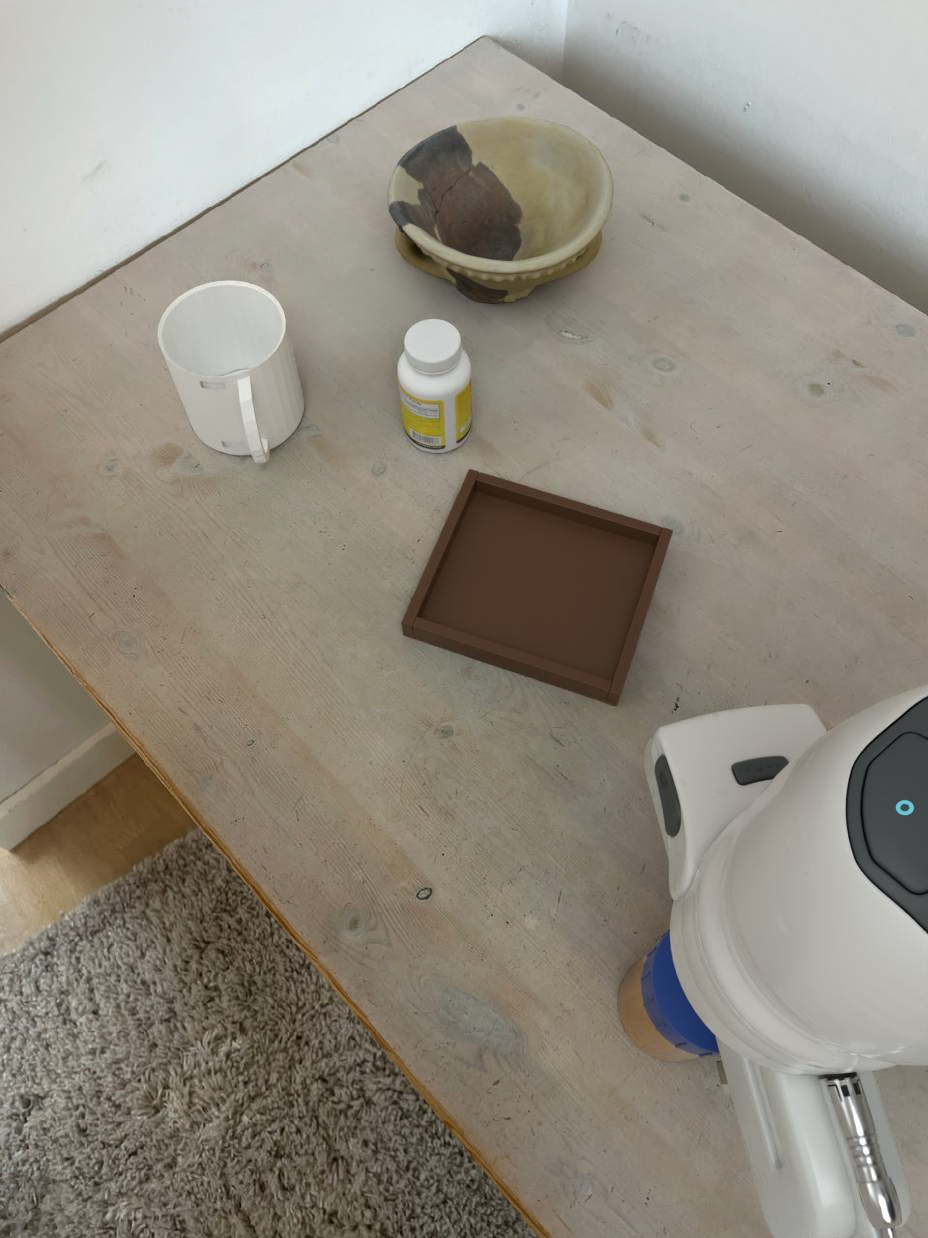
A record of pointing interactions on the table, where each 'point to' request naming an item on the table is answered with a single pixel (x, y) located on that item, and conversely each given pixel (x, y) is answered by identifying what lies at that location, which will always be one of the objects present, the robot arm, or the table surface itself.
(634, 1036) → the jam jar
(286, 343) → the mug
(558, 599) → the walnut tray
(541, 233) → the bowl
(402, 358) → the supplement bottle
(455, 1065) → the table surface
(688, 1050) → the jam lid
